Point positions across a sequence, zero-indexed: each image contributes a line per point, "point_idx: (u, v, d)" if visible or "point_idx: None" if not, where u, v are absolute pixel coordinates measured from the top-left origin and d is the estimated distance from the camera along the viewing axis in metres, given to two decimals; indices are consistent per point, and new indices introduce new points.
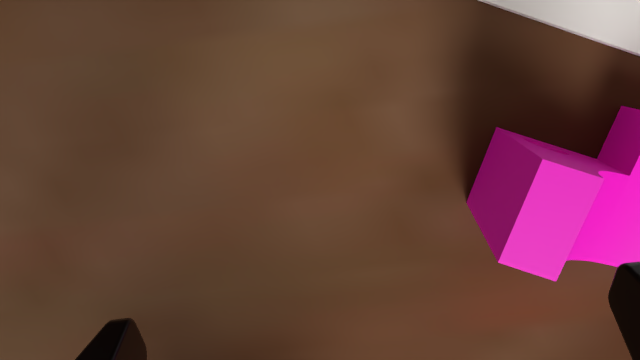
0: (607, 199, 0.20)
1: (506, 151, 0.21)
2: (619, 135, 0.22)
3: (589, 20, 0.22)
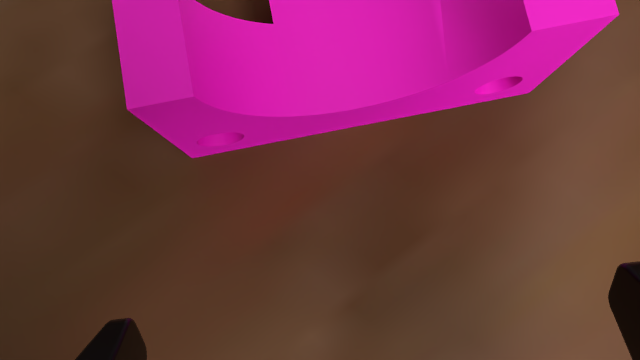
0: (263, 48, 0.20)
1: None
2: None
3: None
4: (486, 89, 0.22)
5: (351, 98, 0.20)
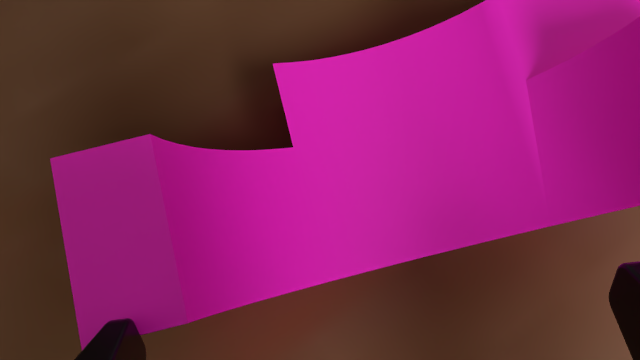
0: (281, 187, 0.14)
1: None
2: None
3: None
4: None
5: (407, 244, 0.15)
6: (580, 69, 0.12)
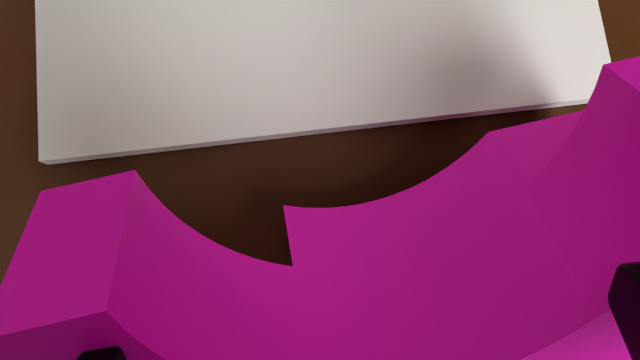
0: (272, 294, 0.13)
1: None
2: None
3: (169, 129, 0.18)
4: None
5: None
6: (572, 149, 0.12)
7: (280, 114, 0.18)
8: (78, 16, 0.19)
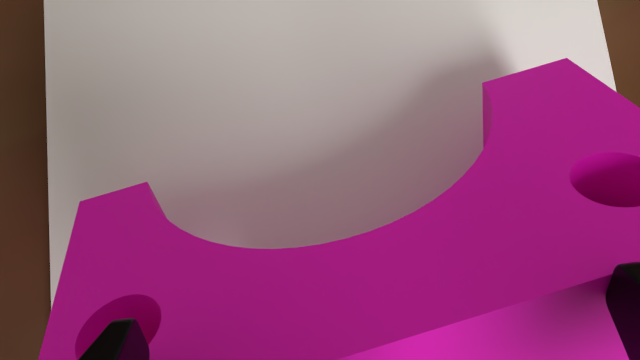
0: None
1: None
2: None
3: None
4: (638, 213, 0.11)
5: None
6: None
7: None
8: None
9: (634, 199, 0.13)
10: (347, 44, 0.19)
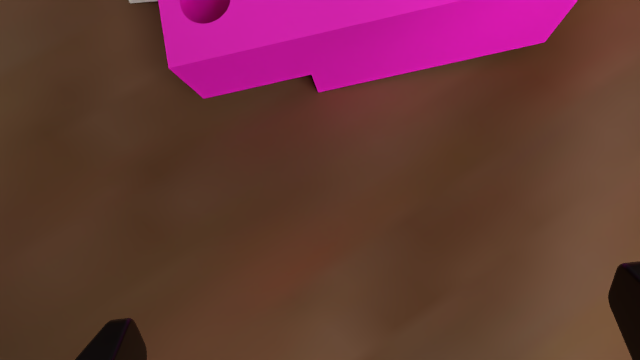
0: None
1: None
2: None
3: None
4: None
5: None
6: None
7: None
8: None
9: None
10: None
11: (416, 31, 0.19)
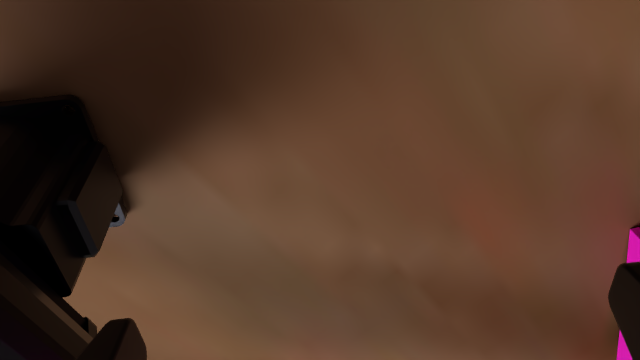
0: None
1: None
2: None
3: None
4: None
5: None
6: None
7: None
8: None
9: None
10: None
11: None
